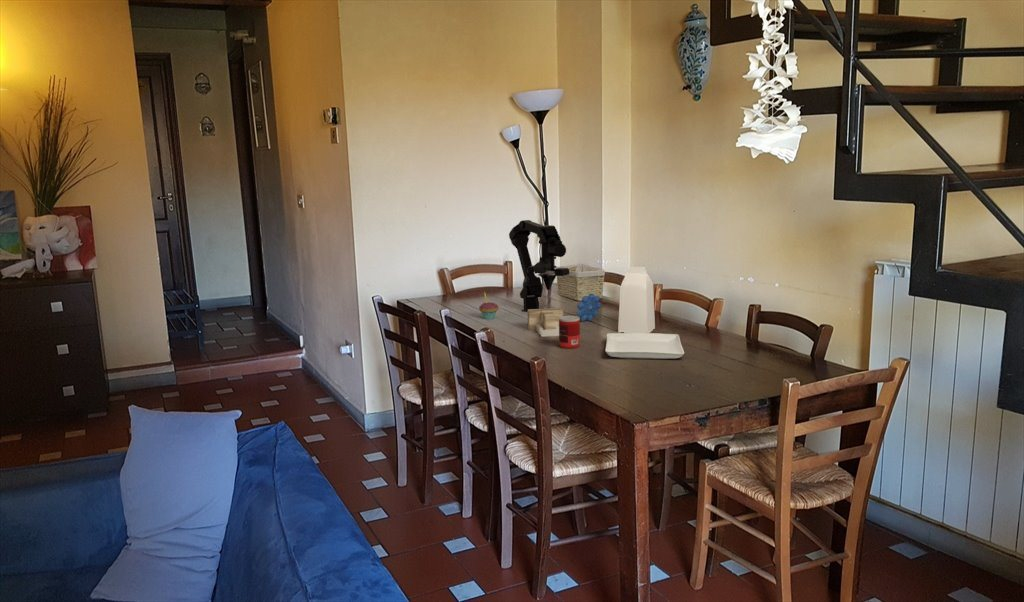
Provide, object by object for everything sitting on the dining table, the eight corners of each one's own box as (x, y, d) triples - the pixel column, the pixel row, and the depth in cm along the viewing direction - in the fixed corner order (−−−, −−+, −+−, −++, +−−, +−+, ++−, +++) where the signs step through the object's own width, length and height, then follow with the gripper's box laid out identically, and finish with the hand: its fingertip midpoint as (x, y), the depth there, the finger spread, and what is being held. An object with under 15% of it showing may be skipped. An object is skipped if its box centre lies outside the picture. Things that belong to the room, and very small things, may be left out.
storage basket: (554, 294, 388) (554, 266, 385) (582, 291, 394) (582, 263, 391) (577, 302, 366) (576, 272, 363) (606, 299, 372) (606, 269, 370)
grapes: (595, 317, 332) (595, 290, 329) (603, 320, 326) (603, 293, 323) (572, 320, 327) (572, 293, 325) (579, 323, 321) (579, 295, 319)
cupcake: (476, 319, 334) (475, 292, 332) (484, 315, 342) (483, 289, 339) (494, 320, 331) (493, 293, 328) (501, 316, 338) (501, 290, 336)
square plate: (605, 361, 265) (605, 350, 264) (606, 341, 291) (606, 332, 290) (684, 362, 261) (684, 351, 260) (678, 342, 287) (678, 332, 287)
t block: (528, 328, 315) (527, 309, 313) (561, 326, 317) (560, 307, 315) (533, 336, 301) (533, 316, 300) (568, 334, 303) (568, 314, 301)
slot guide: (536, 330, 311) (536, 324, 311) (556, 329, 312) (556, 323, 312) (541, 336, 300) (541, 330, 300) (561, 335, 301) (561, 329, 301)
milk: (618, 332, 304) (618, 268, 299) (626, 326, 315) (626, 263, 310) (647, 334, 299) (648, 269, 294) (655, 328, 310) (655, 265, 305)
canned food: (582, 344, 287) (581, 316, 285) (576, 349, 279) (576, 320, 277) (562, 343, 289) (562, 315, 287) (556, 348, 282) (556, 319, 280)
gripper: (519, 255, 330) (520, 290, 333) (555, 258, 319) (555, 294, 322) (534, 252, 339) (535, 287, 342) (569, 255, 328) (570, 290, 331)
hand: (548, 289), depth 334 cm, fingers closed
